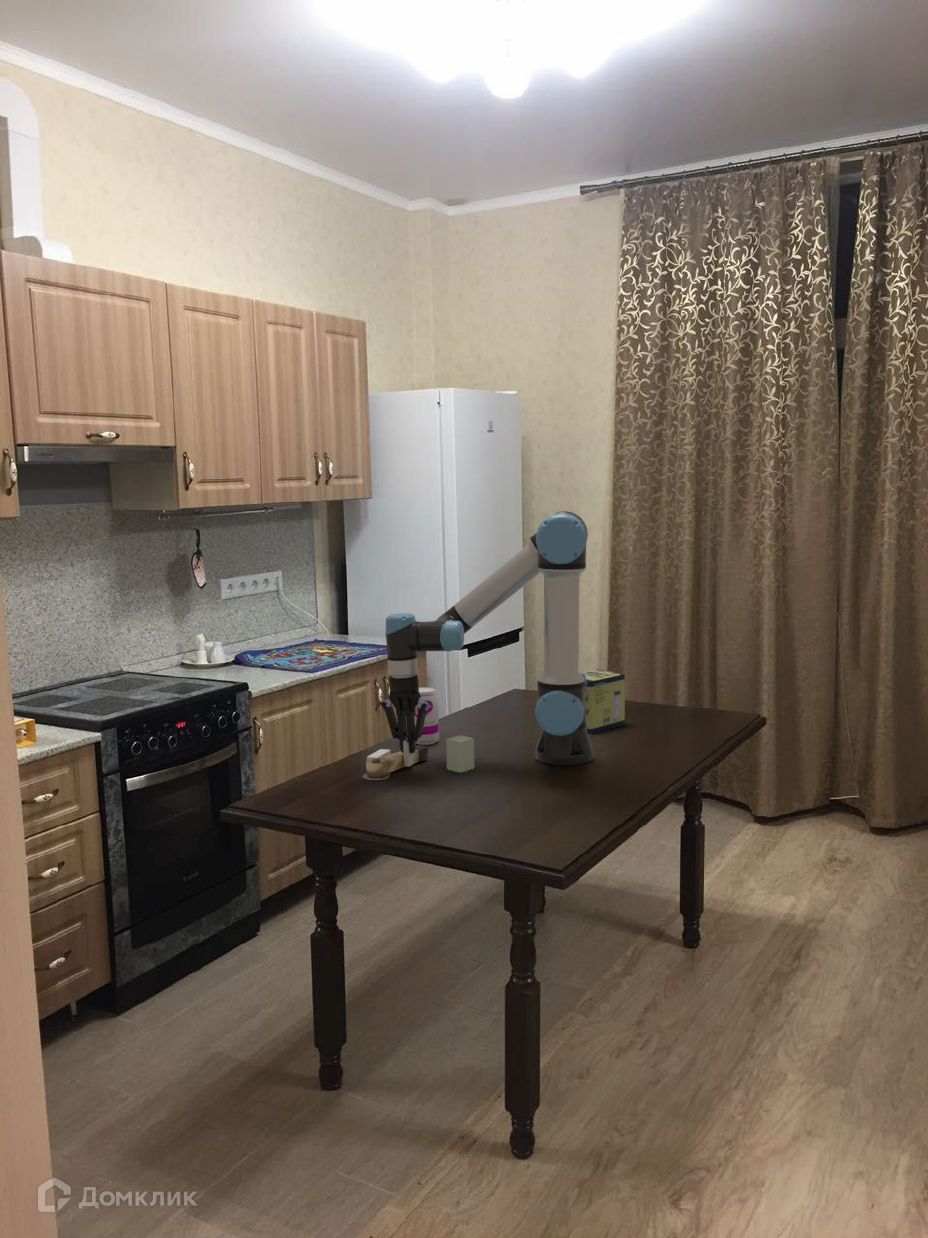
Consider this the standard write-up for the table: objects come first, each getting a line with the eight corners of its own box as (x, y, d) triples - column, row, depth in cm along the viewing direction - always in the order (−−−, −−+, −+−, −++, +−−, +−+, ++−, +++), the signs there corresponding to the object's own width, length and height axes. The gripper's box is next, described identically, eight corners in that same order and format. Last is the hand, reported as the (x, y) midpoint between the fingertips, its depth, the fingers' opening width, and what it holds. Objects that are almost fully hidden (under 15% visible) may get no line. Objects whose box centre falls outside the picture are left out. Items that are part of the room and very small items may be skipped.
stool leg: (377, 778, 258) (377, 763, 257) (362, 775, 261) (361, 760, 260) (428, 759, 274) (428, 745, 274) (414, 756, 277) (413, 742, 277)
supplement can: (435, 746, 289) (434, 693, 286) (406, 745, 290) (405, 692, 288) (442, 738, 296) (440, 687, 294) (413, 738, 298) (412, 686, 296)
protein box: (563, 728, 305) (563, 676, 303) (598, 719, 316) (598, 668, 313) (591, 734, 298) (590, 681, 295) (625, 724, 308) (625, 673, 306)
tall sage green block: (474, 768, 266) (473, 738, 265) (461, 773, 263) (460, 742, 262) (460, 765, 270) (459, 735, 269) (446, 769, 266) (446, 739, 265)
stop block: (391, 761, 274) (390, 750, 274) (377, 770, 267) (377, 758, 266) (380, 760, 275) (380, 749, 275) (367, 769, 268) (366, 757, 268)
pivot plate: (395, 773, 263) (395, 772, 263) (383, 781, 257) (383, 780, 257) (370, 771, 266) (370, 770, 266) (357, 779, 260) (357, 778, 260)
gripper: (432, 672, 265) (437, 762, 268) (387, 671, 270) (392, 759, 273) (420, 678, 258) (425, 770, 261) (374, 677, 263) (380, 767, 266)
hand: (408, 765), depth 267 cm, fingers closed
